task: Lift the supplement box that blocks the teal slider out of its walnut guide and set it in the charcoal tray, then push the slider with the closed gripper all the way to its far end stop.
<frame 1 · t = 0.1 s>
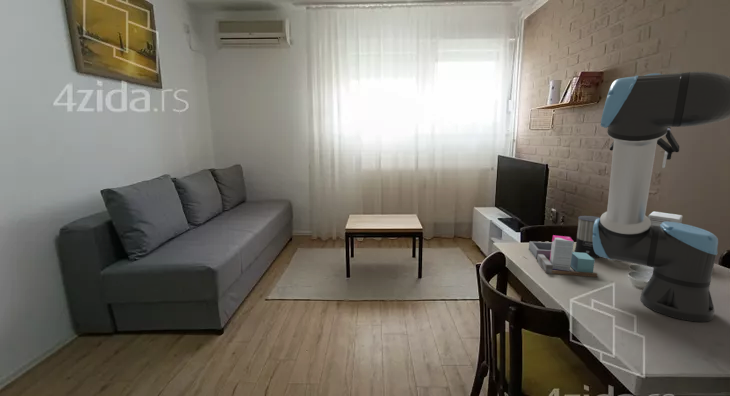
hand: (640, 164, 133), 36 cm above the table, tool tilted 35°, fingers open, 13 cm apart
supplement box: (559, 269, 123), resting in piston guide
small box: (605, 243, 152), on the table
tray: (547, 254, 137), on the table
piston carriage: (581, 262, 121), point 3 cm above the table, slide at 0.0 cm
milk frother: (591, 252, 141), on the table
supplement box 2: (658, 256, 136), on the table
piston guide: (565, 268, 123), on the table
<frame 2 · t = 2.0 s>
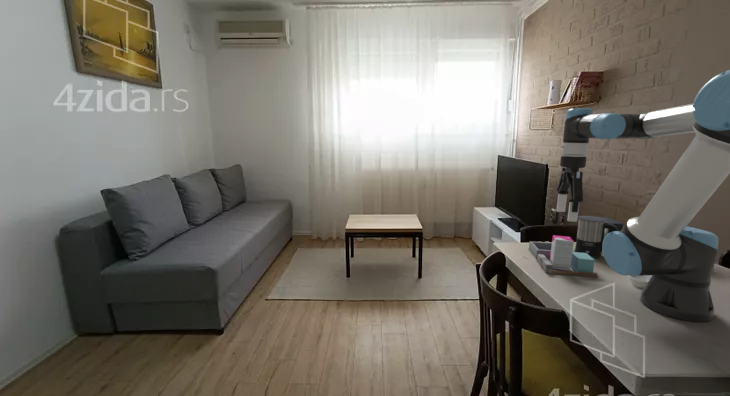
hand: (566, 216, 121), 19 cm above the table, tool pointing down, fingers open, 13 cm apart
nothing on the table moved.
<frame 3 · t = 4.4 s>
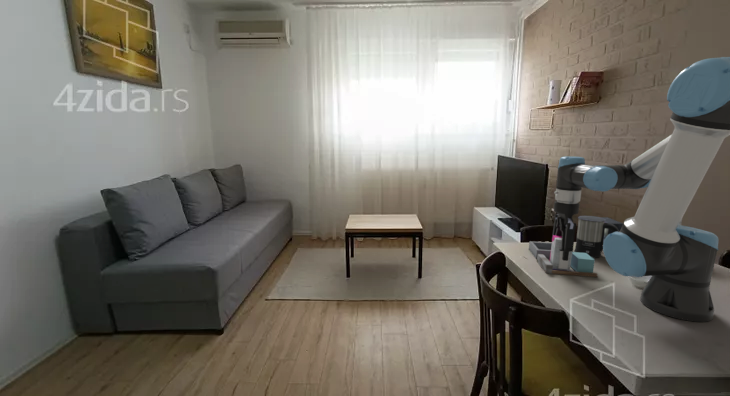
hand: (559, 264, 123), 1 cm above the table, tool pointing down, fingers closed on supplement box, 6 cm apart
supplement box: (559, 268, 123), resting in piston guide, touching gripper
everything else where it was.
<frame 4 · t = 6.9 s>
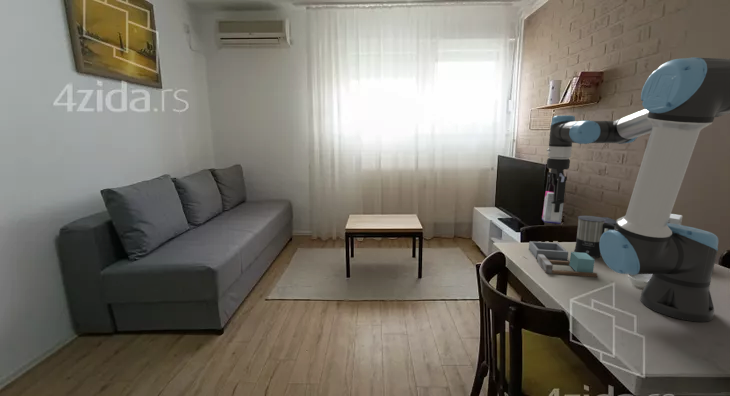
hand: (551, 217, 133), 15 cm above the table, tool pointing down, fingers closed on supplement box, 6 cm apart
supplement box: (551, 222, 133), point 14 cm above the table, touching gripper
everything else where it was.
when the fingers open (4 cm above the table, at t = 9.3 s): supplement box drops 2 cm, resting on tray.
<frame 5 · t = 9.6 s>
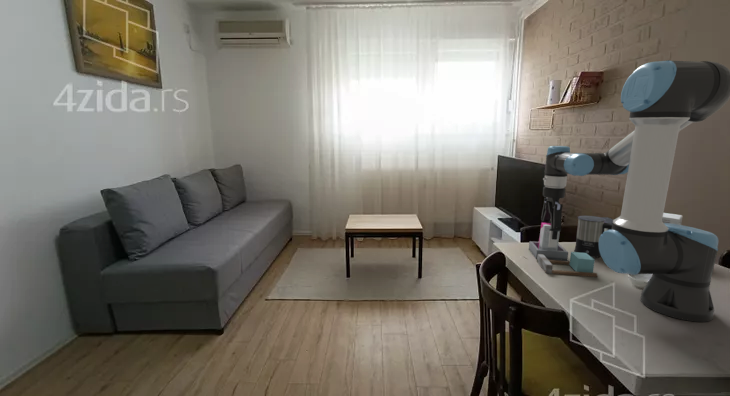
hand: (548, 242, 136), 5 cm above the table, tool pointing down, fingers open, 9 cm apart
supplement box: (547, 252, 137), point 1 cm above the table, touching tray
everything else where it was.
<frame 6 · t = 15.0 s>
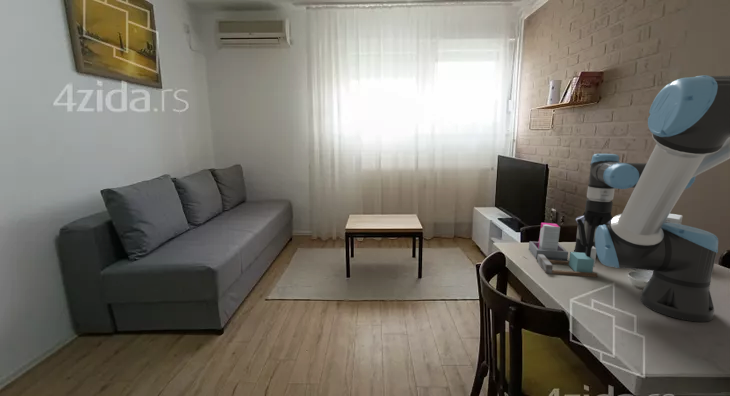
hand: (590, 265, 121), 2 cm above the table, tool pointing down, fingers closed
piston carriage: (580, 262, 121), point 3 cm above the table, slide at 0.2 cm, touching gripper
everything else where it was.
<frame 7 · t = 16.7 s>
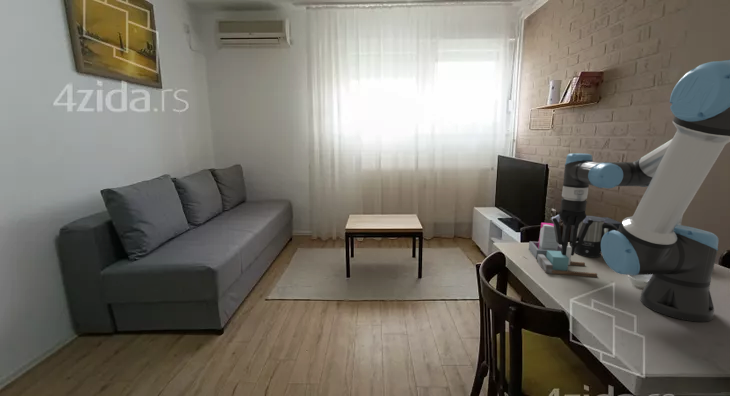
hand: (566, 263, 123), 2 cm above the table, tool pointing down, fingers closed
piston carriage: (556, 260, 123), point 3 cm above the table, slide at 8.0 cm, touching gripper
everything else where it was.
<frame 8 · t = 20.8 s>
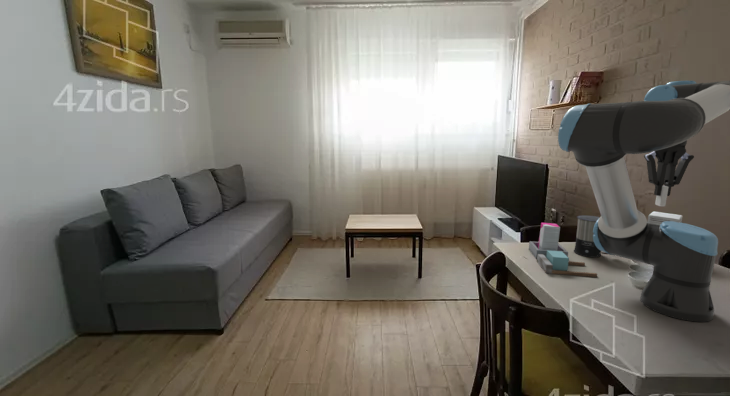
hand: (660, 205, 113), 24 cm above the table, tool pointing down, fingers closed
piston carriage: (556, 260, 123), point 3 cm above the table, slide at 8.0 cm
everything else where it was.
at the end: supplement box inside the target area on the tray (0.2 cm from its centre), point 0.8 cm above the tray's base; supplement box tilted 0°; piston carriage slide at 8.0 cm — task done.
